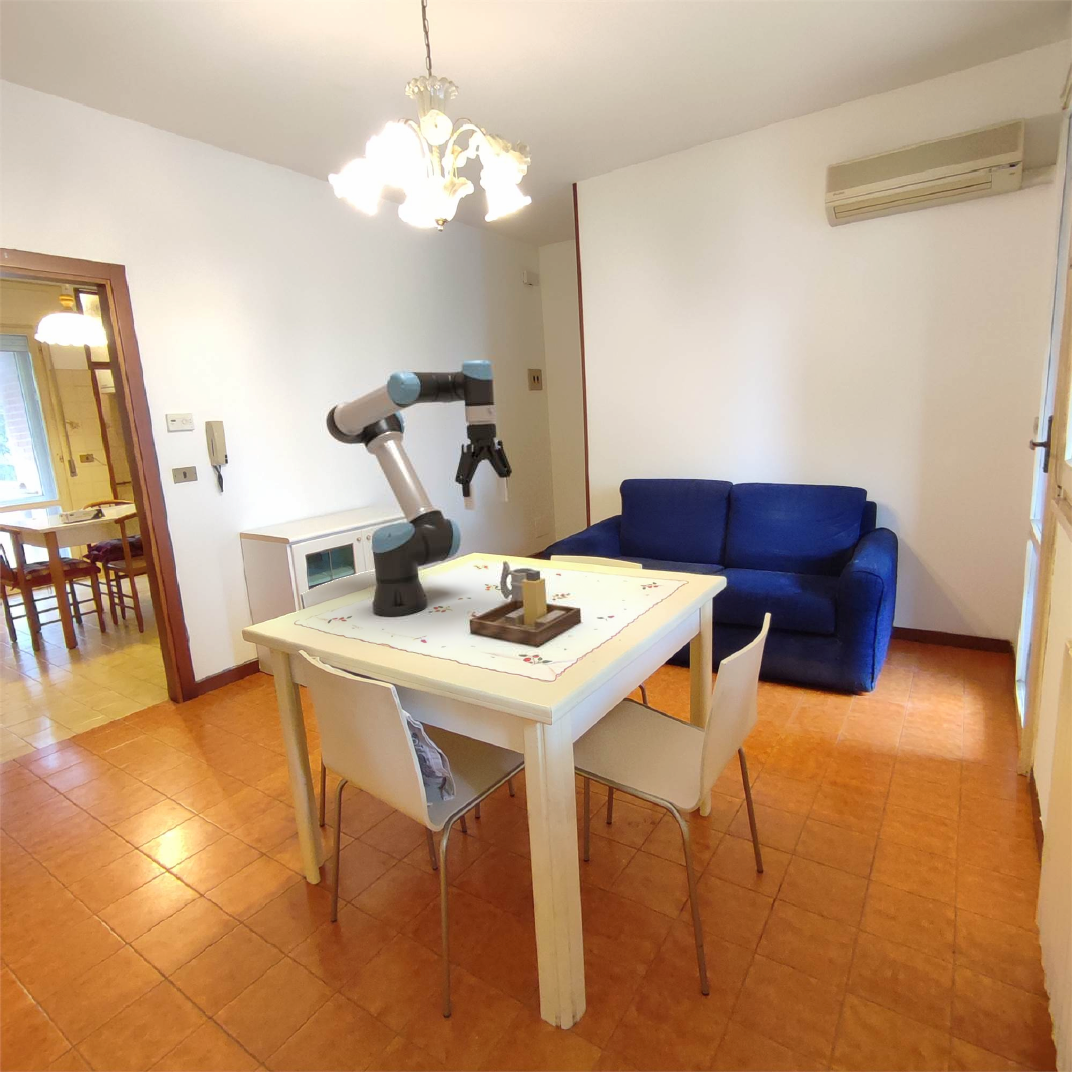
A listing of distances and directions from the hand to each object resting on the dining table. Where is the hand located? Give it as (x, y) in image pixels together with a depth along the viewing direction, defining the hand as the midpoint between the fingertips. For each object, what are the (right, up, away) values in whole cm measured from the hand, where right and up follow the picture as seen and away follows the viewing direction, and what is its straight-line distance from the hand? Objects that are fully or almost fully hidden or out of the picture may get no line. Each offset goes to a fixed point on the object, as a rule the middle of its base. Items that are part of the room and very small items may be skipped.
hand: (487, 505), depth 163 cm
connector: (+13, -30, -11) cm, 35 cm away
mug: (+8, -27, +10) cm, 30 cm away
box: (+11, -31, -10) cm, 34 cm away
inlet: (+13, -31, -11) cm, 35 cm away
